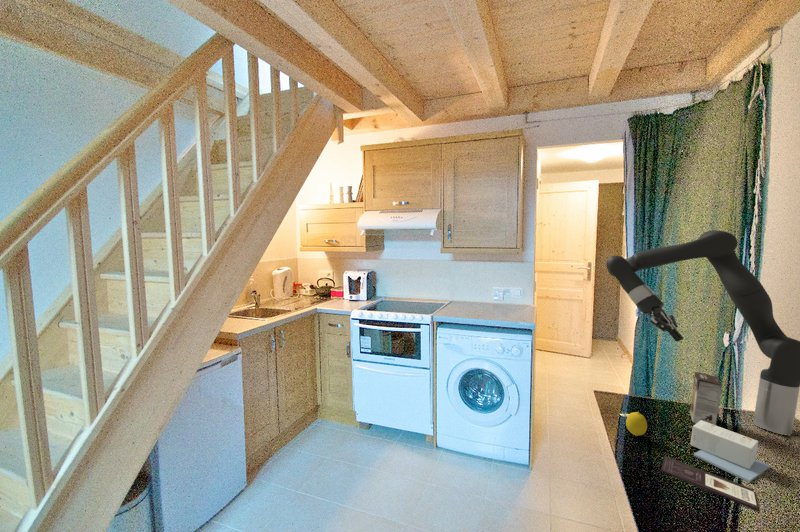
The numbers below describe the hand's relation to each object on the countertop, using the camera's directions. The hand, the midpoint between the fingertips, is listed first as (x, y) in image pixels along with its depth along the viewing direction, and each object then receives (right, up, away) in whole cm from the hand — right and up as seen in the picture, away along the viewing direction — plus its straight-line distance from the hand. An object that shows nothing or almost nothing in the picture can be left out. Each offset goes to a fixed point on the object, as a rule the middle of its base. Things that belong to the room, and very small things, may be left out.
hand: (680, 340), depth 117 cm
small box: (-5, -26, -12) cm, 29 cm away
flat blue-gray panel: (-2, -31, -20) cm, 37 cm away
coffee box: (+11, -30, +4) cm, 32 cm away
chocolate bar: (-18, -31, -29) cm, 46 cm away
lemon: (-23, -29, -9) cm, 38 cm away
